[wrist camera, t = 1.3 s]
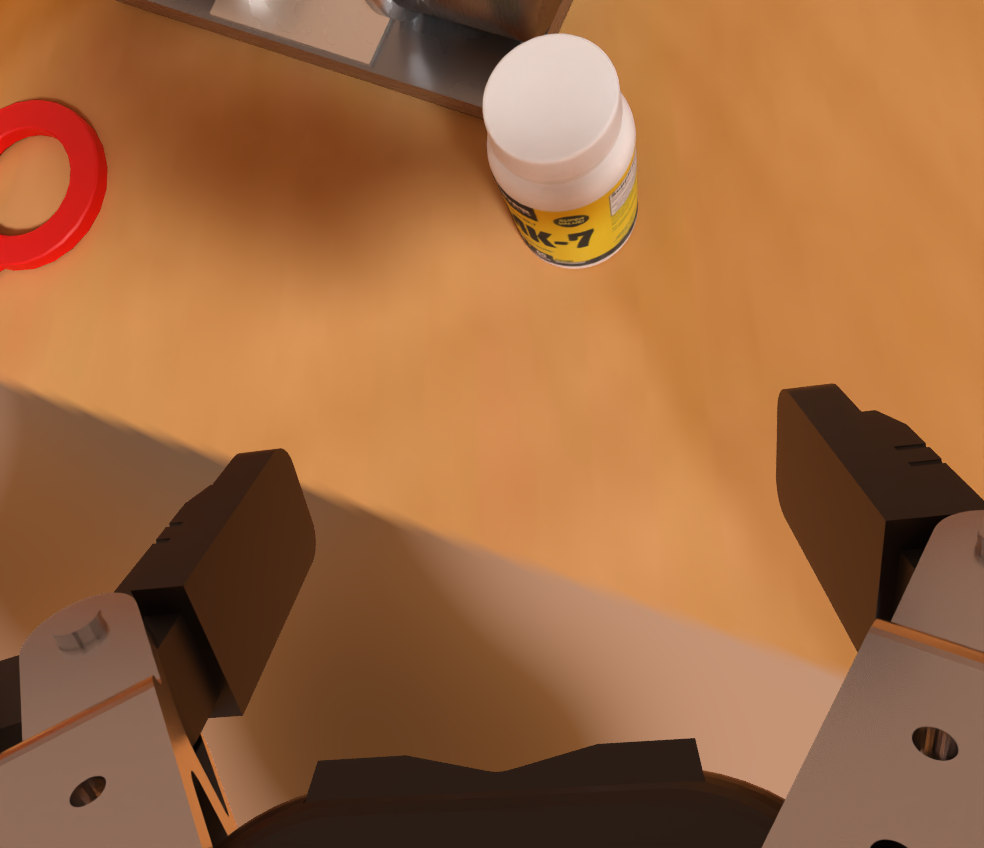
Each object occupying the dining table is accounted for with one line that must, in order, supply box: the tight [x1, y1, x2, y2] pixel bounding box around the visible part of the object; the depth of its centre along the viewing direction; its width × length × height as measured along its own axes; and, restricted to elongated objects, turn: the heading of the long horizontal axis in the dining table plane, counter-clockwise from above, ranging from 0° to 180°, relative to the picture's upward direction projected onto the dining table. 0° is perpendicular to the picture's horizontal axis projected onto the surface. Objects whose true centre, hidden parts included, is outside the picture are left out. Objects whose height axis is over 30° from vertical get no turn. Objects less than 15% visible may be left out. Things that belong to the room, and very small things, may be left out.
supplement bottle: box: [482, 33, 638, 269], centre depth 24 cm, size 5×5×8 cm
